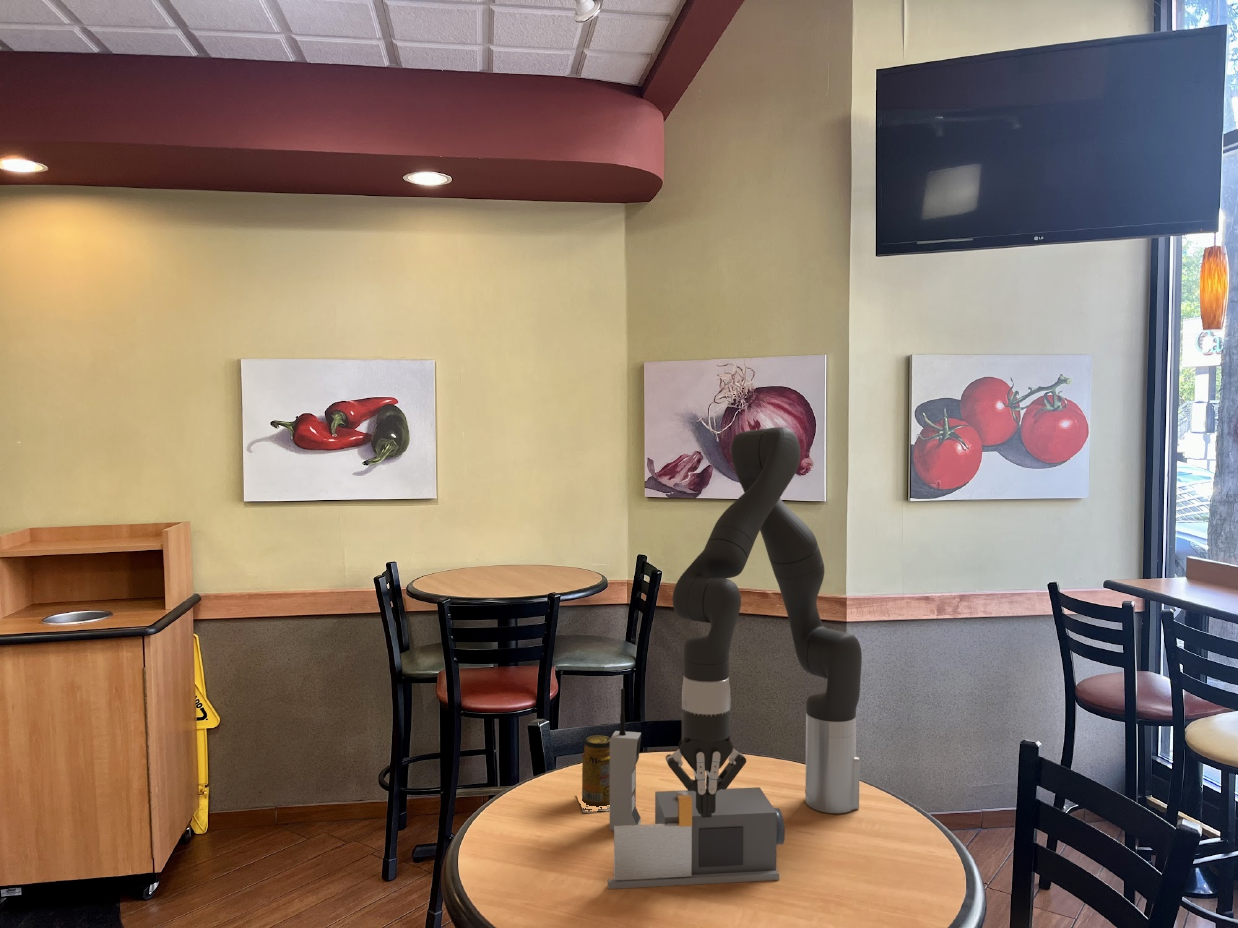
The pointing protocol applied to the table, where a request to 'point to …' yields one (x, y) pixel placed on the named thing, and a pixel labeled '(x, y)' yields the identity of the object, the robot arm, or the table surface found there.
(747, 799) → the grey box machine
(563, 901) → the table surface
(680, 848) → the side door
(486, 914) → the table surface
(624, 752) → the vintage mobile phone
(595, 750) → the yellow drink can
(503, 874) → the table surface
